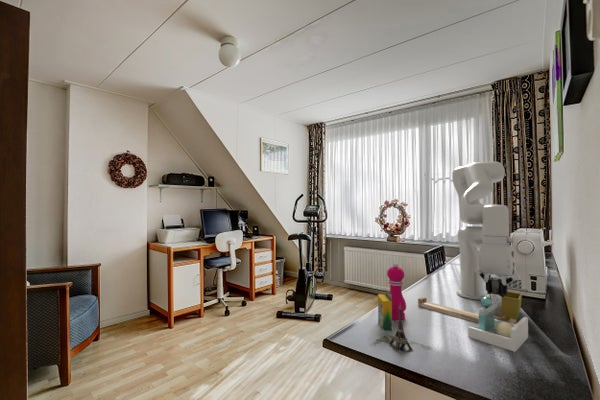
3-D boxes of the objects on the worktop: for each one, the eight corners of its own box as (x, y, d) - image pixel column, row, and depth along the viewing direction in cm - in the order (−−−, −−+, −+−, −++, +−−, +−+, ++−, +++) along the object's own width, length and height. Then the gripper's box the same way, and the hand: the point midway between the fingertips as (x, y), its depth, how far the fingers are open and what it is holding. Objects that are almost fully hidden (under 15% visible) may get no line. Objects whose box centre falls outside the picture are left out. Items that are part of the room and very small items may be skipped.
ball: (496, 320, 91) (514, 320, 87) (501, 337, 90) (520, 337, 86) (490, 324, 88) (509, 324, 84) (496, 341, 87) (515, 342, 83)
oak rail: (423, 303, 119) (422, 296, 119) (516, 329, 94) (516, 320, 94) (418, 305, 116) (418, 298, 116) (513, 332, 92) (512, 323, 92)
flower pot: (489, 318, 103) (488, 293, 103) (493, 312, 109) (493, 288, 110) (519, 325, 97) (519, 299, 97) (522, 318, 103) (522, 293, 104)
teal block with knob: (491, 320, 99) (490, 276, 100) (505, 324, 96) (504, 278, 97) (474, 333, 89) (474, 283, 90) (489, 337, 86) (488, 286, 87)
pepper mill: (408, 322, 100) (407, 265, 100) (386, 320, 101) (386, 264, 102) (404, 314, 107) (404, 261, 107) (384, 313, 108) (384, 260, 109)
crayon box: (377, 322, 100) (377, 288, 100) (386, 322, 100) (386, 289, 100) (383, 331, 93) (383, 295, 93) (392, 331, 93) (392, 295, 93)
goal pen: (484, 324, 98) (484, 307, 98) (528, 337, 88) (527, 317, 88) (468, 336, 89) (467, 317, 89) (515, 351, 79) (514, 330, 80)
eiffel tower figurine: (433, 349, 82) (433, 302, 82) (424, 365, 74) (424, 313, 74) (383, 334, 91) (383, 292, 91) (370, 347, 83) (370, 301, 83)
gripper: (528, 242, 94) (529, 298, 93) (473, 238, 106) (473, 287, 106) (522, 244, 89) (523, 303, 88) (465, 239, 101) (465, 291, 101)
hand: (496, 294), depth 97 cm, fingers closed on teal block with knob, 3 cm apart
